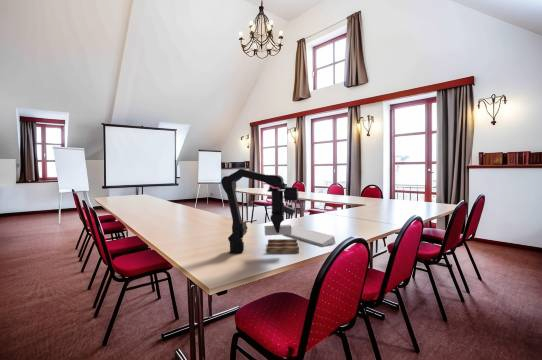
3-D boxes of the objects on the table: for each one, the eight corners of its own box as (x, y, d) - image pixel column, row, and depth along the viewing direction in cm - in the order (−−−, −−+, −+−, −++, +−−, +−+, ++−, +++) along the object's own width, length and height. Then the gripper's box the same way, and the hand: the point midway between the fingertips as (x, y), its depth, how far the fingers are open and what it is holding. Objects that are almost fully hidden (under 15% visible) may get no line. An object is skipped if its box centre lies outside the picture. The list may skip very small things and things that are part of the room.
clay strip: (265, 235, 133) (265, 227, 133) (264, 233, 136) (264, 225, 136) (291, 234, 135) (291, 226, 135) (290, 232, 138) (289, 224, 138)
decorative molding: (323, 251, 148) (335, 243, 153) (322, 243, 147) (334, 236, 152) (284, 239, 175) (295, 232, 181) (282, 232, 174) (294, 226, 180)
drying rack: (267, 253, 137) (267, 247, 137) (268, 244, 153) (268, 239, 153) (298, 252, 137) (298, 247, 137) (296, 244, 153) (296, 239, 152)
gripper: (294, 202, 125) (294, 236, 126) (293, 198, 144) (293, 227, 144) (270, 203, 126) (270, 236, 126) (272, 198, 144) (272, 227, 145)
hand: (277, 231), depth 135 cm, fingers closed on clay strip, 4 cm apart
